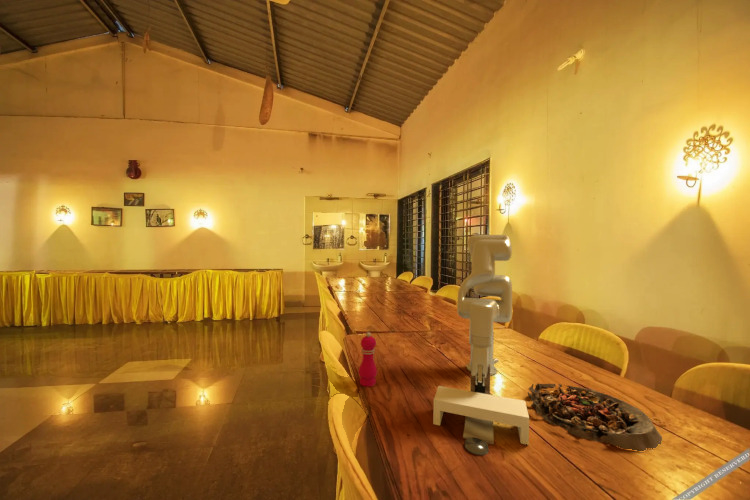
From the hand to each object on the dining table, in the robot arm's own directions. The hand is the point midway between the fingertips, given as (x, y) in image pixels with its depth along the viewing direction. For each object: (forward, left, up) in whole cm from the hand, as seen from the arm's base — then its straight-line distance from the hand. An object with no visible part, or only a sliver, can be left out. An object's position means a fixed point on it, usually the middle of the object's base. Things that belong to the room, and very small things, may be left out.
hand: (479, 393), depth 101 cm
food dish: (-26, +22, -6) cm, 34 cm away
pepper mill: (+21, -36, -5) cm, 42 cm away
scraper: (+7, +5, -5) cm, 10 cm away
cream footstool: (+8, +6, -5) cm, 11 cm away
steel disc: (+18, +12, -5) cm, 22 cm away
